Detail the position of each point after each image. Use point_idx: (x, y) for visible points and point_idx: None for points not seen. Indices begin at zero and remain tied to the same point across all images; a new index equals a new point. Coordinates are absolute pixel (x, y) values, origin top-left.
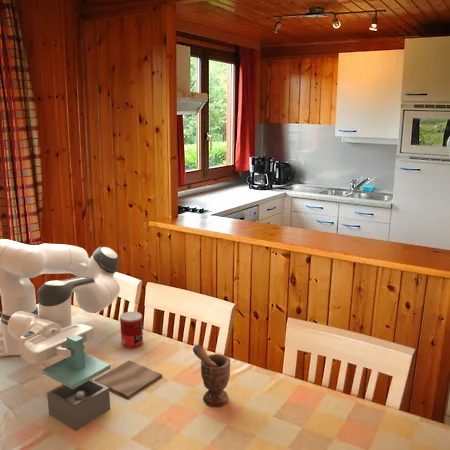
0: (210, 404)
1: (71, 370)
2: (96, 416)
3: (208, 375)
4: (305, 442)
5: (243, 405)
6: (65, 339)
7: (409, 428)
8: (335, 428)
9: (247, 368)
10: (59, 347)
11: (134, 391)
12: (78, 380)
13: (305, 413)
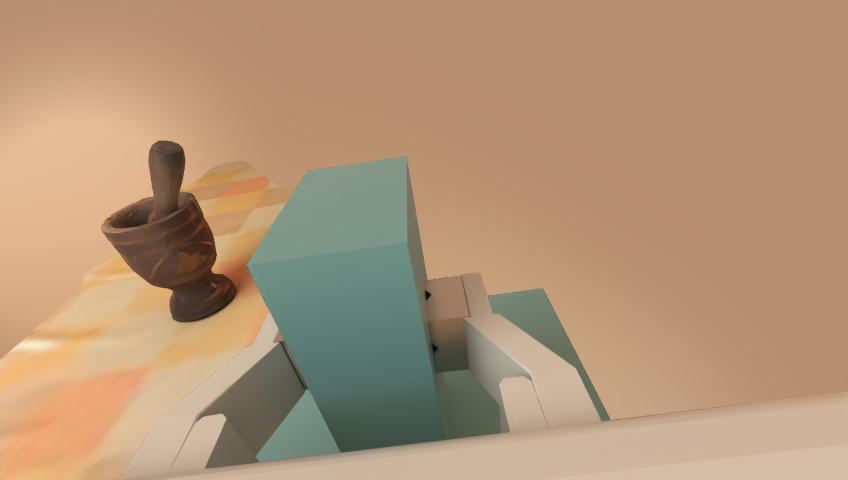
0: (232, 291)
1: (472, 421)
2: None
3: (200, 224)
4: (285, 196)
5: (215, 265)
6: (334, 477)
7: (222, 173)
8: (243, 195)
9: (32, 335)
10: (538, 387)
11: None
12: (496, 303)
13: (217, 218)
